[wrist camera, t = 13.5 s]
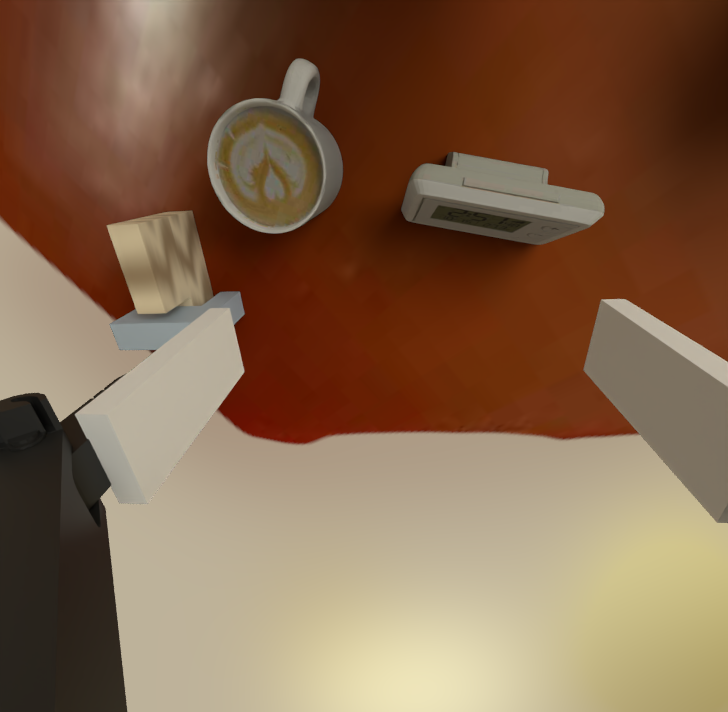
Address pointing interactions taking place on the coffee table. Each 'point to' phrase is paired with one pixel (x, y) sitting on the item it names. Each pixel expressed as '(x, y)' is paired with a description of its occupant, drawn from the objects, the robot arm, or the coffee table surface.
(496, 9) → the coffee table surface
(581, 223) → the digital clock
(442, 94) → the coffee table surface
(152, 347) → the bridge plate
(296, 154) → the coffee mug
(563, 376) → the coffee table surface
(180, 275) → the maple rail
